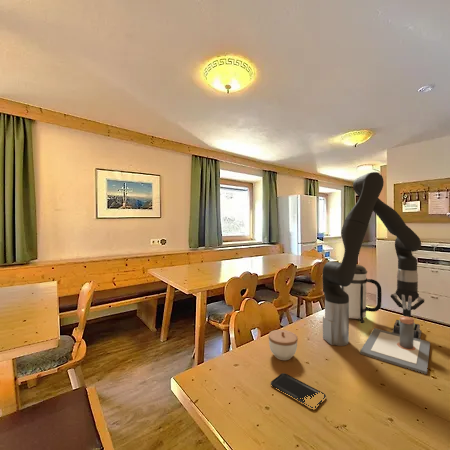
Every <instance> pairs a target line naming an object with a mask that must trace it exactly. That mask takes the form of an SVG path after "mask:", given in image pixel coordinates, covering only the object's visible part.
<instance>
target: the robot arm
mask: <svg viewBox="0 0 450 450" xmlns="http://www.w3.org/2000/svg"><path fill="white" fill-rule="evenodd" d="M384 183H385V182H384V177H383V175H382V174H381V173H379V172H376V171H372V172H368V173H366V174H364V175H361V176H359V177H357V178H356V179H355V180H354V181H353V183H352V188H353V191H354V192H355V194H356V195H357V196H358V197H359V198H358V200H357V202H356V203H355V205H353V206H352V208H351V210H350V211H349V212H348V214H347V215H346V217H345V218H344V221H343V223H342V224H343V225H342V227H341V231H340V235H341V239H342V242H343V243H342V244H343V249H344V253H343V256H342V257H343V258H342V261H341V262H339V261H333V260H332V261H327V262H326V263H325V264H324V265H323V267H322V290H323V291H322V292H323V294H324V316H322V339H323V340H325V342H327V343H328V344H329V345H331V346H333V345H334V346H339V347H341V346H342V347H343V346H347V345H348V344H349V342H350V341H349V336H350V335H349V333H350V332H349V330H350V328H349V326H350V324H349V323H350V321H349V320H350V318H349V296H348V294H347V293H346V292H345V291H343V290H342V288H341V287H340V286H343V287H346V286H349V285H350V284H351V282H352V280H353V278H354V274H355V270H356V265H358V260H359V255H360V252H361V249H362V244H363V241H364V239H365V236H366V234H367V230H368V227H369V224H370V220H371V217H372V214H373V213H375V215H376V216H377V217H378V218H379V220H380V221H381V222H382V224H383V225H384V227H385V228H386V229H387V231H388V233H390V234H391V235H392V236H395V240H394V248H395V249H394V250H395V253H396V257H397V272H396V273H397V274H396V280H397V281H396V291H395V292H394V293H391V294H390V299H392V301H394V303H395V304H396V306H397V307H398V308H401V309H402V316H407V317H411V316H412V315H411V314H412V310H413V311H414V310H415V311H416V309H418V308H419V307H420V306H421V305H422V304H424V303H425V298H422V297H421V296H420V294H419V293H418V291H419V290H418V288H419V287H418V286H419V285H418V283H419V274H418V258H416V256H414V255H413V253H412V252H418V251H419V250H420V249H421V247H422V241H421V239H420V237H419V236H418V235H417V233H416V232H414V231H413V230H412V229H411V228H410V227H409V226H408V225H407V224H406V223H405V221H404V220H403V218H402V217H401V215H400V214H399V213H398V211H397V210H395V209H394V208H393V207H391V206H390V205H388V204H387V203H386V202H384V201H382V200H381V198H379V197H380V194H381V193H382V190H383V187H384ZM398 298H399V299H398ZM416 300H417V302H416V303H414V302H415V301H416ZM412 303H414V305H413V304H412ZM411 318H412V317H411Z"/></svg>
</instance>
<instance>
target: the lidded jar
mask: <svg viewBox="0 0 450 450" xmlns="http://www.w3.org/2000/svg"><path fill="white" fill-rule="evenodd" d="M298 339H299V338H298V336H297V334H296V333H294V332H293V331H291V330H286V329H275V330H272V331H270V332H269V333H268V345H269V349H270V352H271V353H272V354H273V355H274V357H275V358H276V359H277V360H279V361H288V360H292V359H291V358H293V357H294V355H295V354H296V352H297V350H298Z"/></svg>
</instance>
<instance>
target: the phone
mask: <svg viewBox="0 0 450 450" xmlns="http://www.w3.org/2000/svg"><path fill="white" fill-rule="evenodd" d="M271 385H272V386H273V387H275V388H277V389H279V390H280V391H282V392H284V393H286V394H288V395H290V396H292V397H293V398H295V399H297V398H298V399H297V400H298V401H300V402H302V403H304V402H305V400H304V397H305V396H306V397H308V396H310V397H311V398H312V396H313V397H314V395H316V394H315V393H317V394H318V392H319V393H320V392H321V393H322V394H324V398H325V397H326V398H327V396H326V394H325V393H324V392H322V391H320V390H318V389H316V388H315V387H312V386H311V385H309V384H307V383H305V382H303V381H301V380H299V379H297V378H295V377H293V376H291V375H289V374H288V373H286V372H283V373H280V374H279V375H277V377H274V379H272V380H271V381H270V386H271ZM272 386H271V387H272ZM273 387H272V388H273ZM275 388H274V389H275ZM280 391H279V392H280ZM282 392H281V393H282ZM313 394H314V395H313ZM307 395H308V396H307ZM311 395H312V396H311ZM306 397H305V398H306ZM300 398H301V399H300ZM302 398H303V399H302ZM311 398H310V399H311ZM324 398H323V399H324ZM306 399H307V398H306ZM303 400H304V401H303ZM320 402H322V400H321V401H320ZM320 402H319V403H318V404H320ZM304 404H305V403H304ZM318 404H317V405H318ZM306 405H307V404H306ZM308 406H309V405H308ZM310 407H311V406H310ZM311 408H313V407H311ZM315 408H316V406H315Z"/></svg>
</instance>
